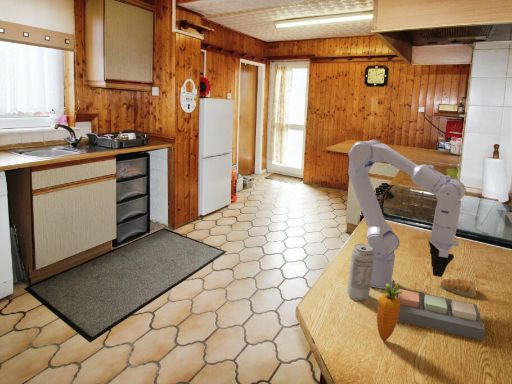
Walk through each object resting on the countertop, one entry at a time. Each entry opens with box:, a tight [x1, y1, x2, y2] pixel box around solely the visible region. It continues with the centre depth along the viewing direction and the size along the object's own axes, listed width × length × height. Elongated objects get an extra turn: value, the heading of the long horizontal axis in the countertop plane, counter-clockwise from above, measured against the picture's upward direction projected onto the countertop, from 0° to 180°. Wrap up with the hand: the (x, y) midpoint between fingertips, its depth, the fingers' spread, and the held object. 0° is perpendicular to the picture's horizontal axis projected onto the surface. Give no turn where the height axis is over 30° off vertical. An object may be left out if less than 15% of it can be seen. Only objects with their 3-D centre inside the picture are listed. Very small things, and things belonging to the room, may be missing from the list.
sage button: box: [423, 293, 447, 314], centre depth 95 cm, size 5×5×3 cm
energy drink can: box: [346, 243, 374, 302], centre depth 103 cm, size 6×6×15 cm
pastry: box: [439, 278, 477, 298], centre depth 110 cm, size 9×7×4 cm
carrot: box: [376, 283, 402, 342], centre depth 84 cm, size 5×5×15 cm
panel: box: [391, 286, 486, 341], centre depth 96 cm, size 21×12×3 cm, turn 69°
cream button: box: [450, 299, 477, 321], centre depth 93 cm, size 5×5×3 cm
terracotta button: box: [398, 288, 420, 308], centre depth 98 cm, size 5×5×3 cm
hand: (436, 271), depth 101 cm, fingers open, 5 cm apart
